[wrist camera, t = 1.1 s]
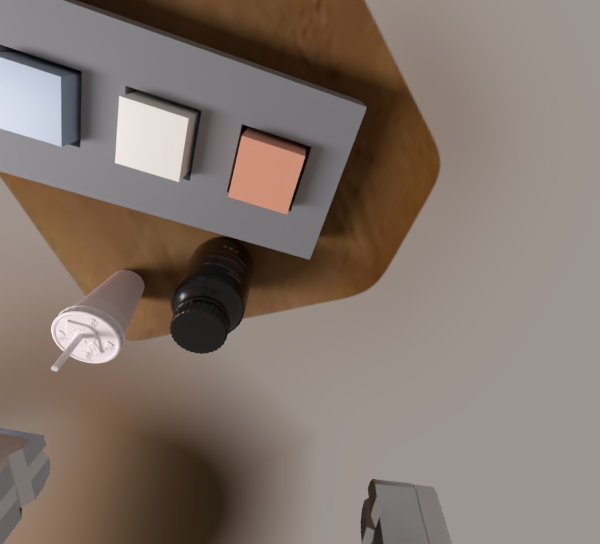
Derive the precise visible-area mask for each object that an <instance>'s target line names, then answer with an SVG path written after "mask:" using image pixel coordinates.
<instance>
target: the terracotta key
mask: <svg viewBox="0 0 600 544" xmlns="http://www.w3.org/2000/svg"><path fill="white" fill-rule="evenodd" d="M305 152H306V145H304V144H301V143H298V142H295V141H292V140H289V139H286V138H283V137H280V136H277V135H274V134H271V133H268V132H265V131H261V130H258V129H255V128H252V127H248V128H247V130H246V131H245V132H244V133H243V135H242V137H241V141H240V146H239V150H238V155H237V159H236V164H235V168H234V172H233V177H232V181H231V186H230V190H229V195H228V197H230V198H233V199H237V200H240V201H243V202H247V203H250V204H253V205H257V206H260V207H263V208H267V209H270V210H273V211H277V212H280V213H283V214H286V215H287V213H288V210H289V207H290V203H291V200H292V197H293V194H294V191H295V188H296V184H297V181H298V178H299V175H300V172H301V169H302V165H303V162H304V159H305Z"/></svg>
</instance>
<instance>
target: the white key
mask: <svg viewBox="0 0 600 544" xmlns="http://www.w3.org/2000/svg"><path fill="white" fill-rule="evenodd" d="M200 117H201V110H198V109H195V108H192V107H189V106H186V105H182V104H179V103H176V102H173V101H170V100H167V99H164V98H161V97H158V96H155V95H152V94H149V93H146V92H143V91H137V92H133V93H129V94H125V95H120V96H119V107H118V122H117V138H116V154H115V163H117V164H120V165H123V166H127V167H130V168H133V169H137V170H140V171H143V172H147V173H150V174H153V175H157V176H160V177H163V178H167V179H170V180H173V181H177V182H180V180H181V179H182V178H183V177H184V176H185V175H186V174H187V173H188V172H189V171H190V170H191V169H192V165H193V159H194V153H195V147H196V141H197V135H198V129H199V123H200Z"/></svg>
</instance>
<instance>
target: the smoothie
mask: <svg viewBox="0 0 600 544" xmlns="http://www.w3.org/2000/svg"><path fill="white" fill-rule="evenodd" d="M144 288H145V285H144V281H143V280H142V278H141V277H140V276H139V275H138V274H136V273H135V272H133V271H130V270H120V271H117V272H116V273H115V274H113V275H112V276H111V277H110V278H108V279H107V280H106V281H104V282H103V283H102V284H101V285H99V286H98V287H97V288H96V289H94V290H93V291H92V292H91V293H89V294H88V295H87V296H86V297H84V298H83V299H82V300H81V301H79V302H78V303H77V304H75V305H74V306H72V307H68V308H66V309H64V310H63V311H61V313H60V314H59V315H58V317H57V318H56V319H55V320H54V321H53V323H52V327H51V332H52V336H53V339H54V341H55V342H56V344H57V345H58V346H59V347H60V349H61V350H63V351H64V352H63V354H62V355H61V356H60V357H59V359H58V360H57V361H56V362H55V364H54V365H53V366H52V368H51V369H52V370H53V371H58V370H59V368H60V367H61V366H62V364H63V363H64V362H65V361H66V359H67V358H68V357H69V356H71V357H73V358H75V359H77V360H80V361H83V362H88V363H104V362H107V361H110V360H112V359H113V358H115V357H116V356H117V354H118V353H119V351H120V350H121V349H122V348H123V346H124V343H125V333H126V331H127V328H128V326H129V324H130V322H131V319H132V317H133V315H134V312H135V310H136V308H137V305H138V303H139V301H140V298H141V296H142V294H143V291H144Z"/></svg>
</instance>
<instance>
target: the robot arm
mask: <svg viewBox="0 0 600 544" xmlns="http://www.w3.org/2000/svg"><path fill="white" fill-rule="evenodd" d="M45 446H46V442H45V439H44V435H39V434H33V433H26V432H21V431H14V430H8V429H2V428H0V544H3V543H4V542H5V540H6V539H7V537H8V536H9V535H10V533H11V532H12V530H13V529H14V528H15V526H16V525H17V524H18V522H19V521H20V520H21V518H22V507H24V506H25V505H27V504H29V503H30V502H32V501H33V500H35V499H36V497H37V496H38V495H39V493H40V492H41V490H42V489H43V487H44V485H45V483H46V480H47V478H48V475H49V471H50V461H49V457H48V456H47V455H46V454H45V453H44V452H43V451H42V449H43V448H44V447H45ZM368 495H369V498H368V499H366V500H365V501H364V504H363V508H362V514H361V540H362V544H452V542H451V539H450V536H449V532H448V529H447V526H446V523H445V519H444V516H443V512H442V509H441V506H440V502H439V500H438V496H437V492H436V491H435V489H434V488H433V487H429V486H420V485H412V484H409V483H402V482H393V481H385V480H377V479H372V480H371V481H370V483H369V486H368Z"/></svg>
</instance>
